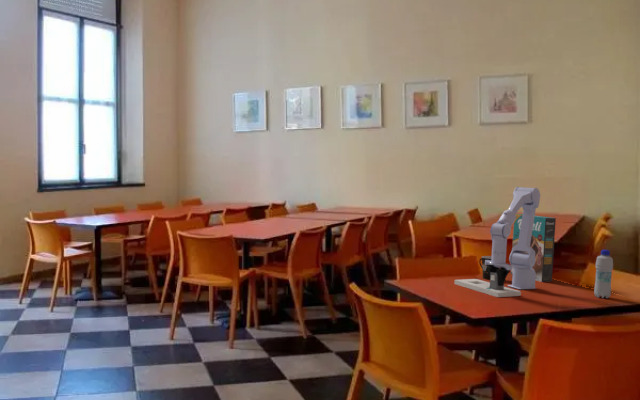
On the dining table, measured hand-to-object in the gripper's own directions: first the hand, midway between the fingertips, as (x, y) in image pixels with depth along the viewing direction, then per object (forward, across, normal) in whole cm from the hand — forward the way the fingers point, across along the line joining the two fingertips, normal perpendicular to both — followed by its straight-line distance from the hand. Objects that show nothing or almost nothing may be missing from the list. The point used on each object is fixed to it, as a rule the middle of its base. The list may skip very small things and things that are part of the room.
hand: (497, 284), depth 256 cm
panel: (+3, -6, 0) cm, 7 cm away
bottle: (+4, +18, +40) cm, 44 cm away
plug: (+2, 0, 0) cm, 3 cm away
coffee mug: (+4, -30, +21) cm, 36 cm away
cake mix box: (+4, -26, +44) cm, 51 cm away
